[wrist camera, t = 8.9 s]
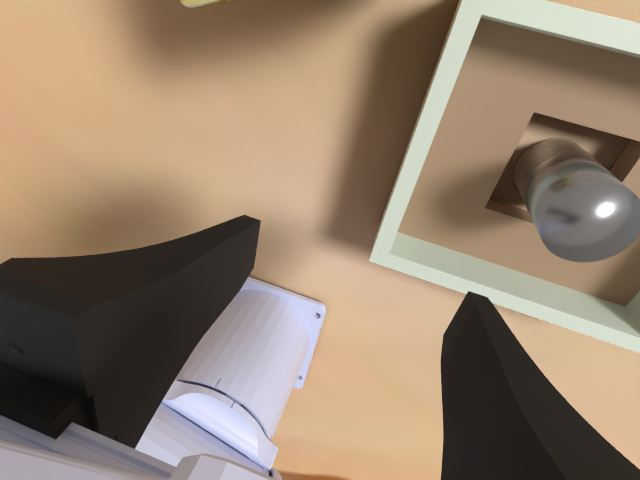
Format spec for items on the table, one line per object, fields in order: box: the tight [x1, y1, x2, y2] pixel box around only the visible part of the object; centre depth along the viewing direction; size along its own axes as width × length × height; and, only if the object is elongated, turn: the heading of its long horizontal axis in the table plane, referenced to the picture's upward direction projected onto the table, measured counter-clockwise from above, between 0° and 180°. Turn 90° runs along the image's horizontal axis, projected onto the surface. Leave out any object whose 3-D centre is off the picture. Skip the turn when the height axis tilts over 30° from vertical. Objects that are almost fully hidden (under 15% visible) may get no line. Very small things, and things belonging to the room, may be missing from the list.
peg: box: [514, 138, 640, 262], centre depth 16 cm, size 3×3×6 cm
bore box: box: [369, 0, 640, 353], centre depth 17 cm, size 12×14×4 cm
